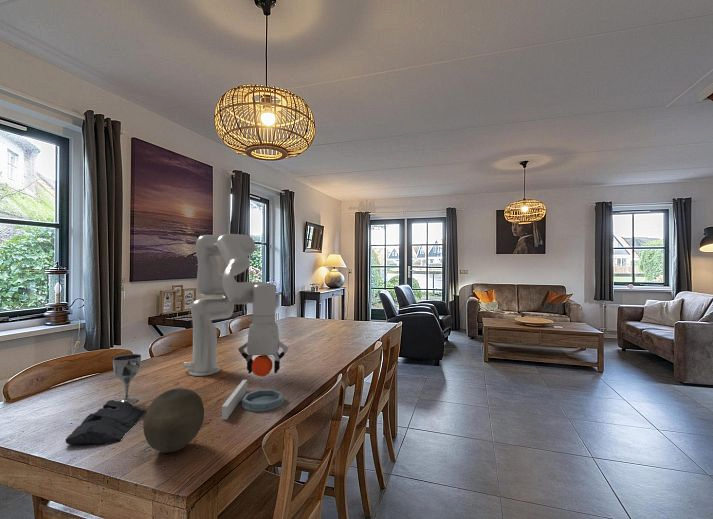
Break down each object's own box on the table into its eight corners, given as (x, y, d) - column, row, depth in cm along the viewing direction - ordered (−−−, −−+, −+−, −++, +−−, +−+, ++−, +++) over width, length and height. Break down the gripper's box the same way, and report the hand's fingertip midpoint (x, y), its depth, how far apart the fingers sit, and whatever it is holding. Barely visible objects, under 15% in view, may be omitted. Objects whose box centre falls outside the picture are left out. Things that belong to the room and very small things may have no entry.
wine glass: (145, 398, 120) (146, 355, 120) (123, 407, 113) (124, 361, 113) (129, 395, 123) (129, 353, 123) (106, 404, 115) (107, 358, 115)
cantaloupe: (127, 459, 84) (128, 396, 84) (176, 432, 97) (177, 378, 97) (171, 472, 78) (172, 405, 79) (217, 442, 92) (218, 385, 92)
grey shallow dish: (236, 412, 110) (236, 404, 110) (247, 395, 124) (247, 389, 124) (280, 411, 111) (280, 404, 111) (286, 395, 125) (286, 388, 125)
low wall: (221, 419, 105) (221, 406, 105) (242, 390, 129) (243, 379, 129) (226, 419, 105) (227, 406, 105) (246, 390, 129) (247, 379, 129)
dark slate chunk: (51, 452, 87) (51, 433, 87) (93, 415, 108) (93, 400, 108) (121, 445, 91) (121, 426, 91) (148, 410, 112) (148, 395, 112)
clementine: (274, 371, 122) (274, 351, 122) (276, 377, 116) (276, 356, 116) (250, 374, 120) (251, 353, 120) (251, 380, 113) (251, 358, 113)
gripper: (234, 321, 114) (233, 375, 113) (288, 321, 115) (287, 375, 114) (240, 318, 121) (240, 369, 121) (291, 318, 122) (290, 368, 122)
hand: (263, 371), depth 118 cm, fingers closed on clementine, 8 cm apart
